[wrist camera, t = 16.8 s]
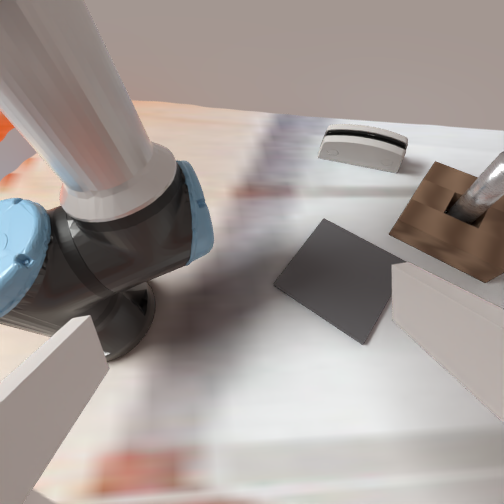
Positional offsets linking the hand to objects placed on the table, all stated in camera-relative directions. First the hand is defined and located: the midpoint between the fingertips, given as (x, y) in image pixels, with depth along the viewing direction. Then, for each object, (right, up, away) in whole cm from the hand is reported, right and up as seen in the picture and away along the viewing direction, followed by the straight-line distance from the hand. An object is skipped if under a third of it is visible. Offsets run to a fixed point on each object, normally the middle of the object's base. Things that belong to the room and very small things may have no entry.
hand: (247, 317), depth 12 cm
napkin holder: (+23, +22, +46) cm, 56 cm away
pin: (+36, +8, +37) cm, 52 cm away
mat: (+15, -1, +34) cm, 37 cm away
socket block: (+36, +8, +37) cm, 52 cm away
